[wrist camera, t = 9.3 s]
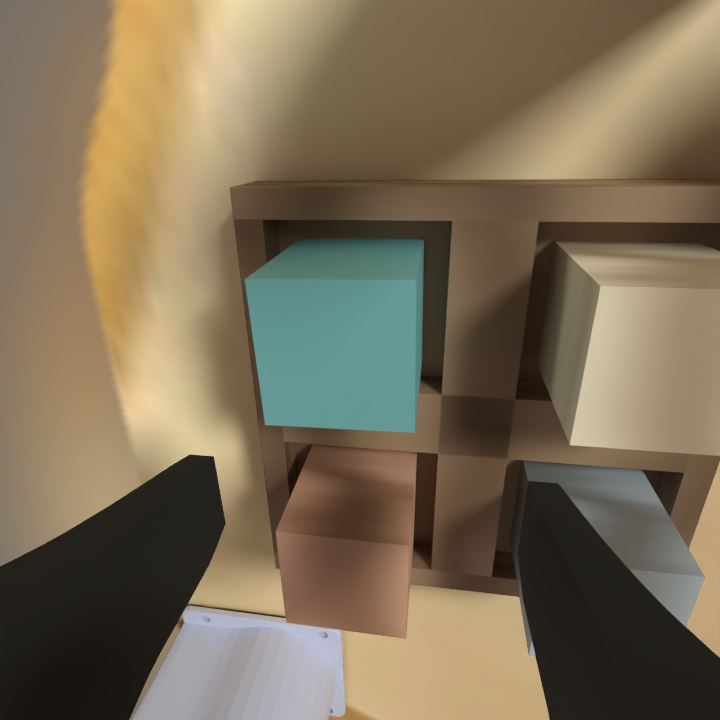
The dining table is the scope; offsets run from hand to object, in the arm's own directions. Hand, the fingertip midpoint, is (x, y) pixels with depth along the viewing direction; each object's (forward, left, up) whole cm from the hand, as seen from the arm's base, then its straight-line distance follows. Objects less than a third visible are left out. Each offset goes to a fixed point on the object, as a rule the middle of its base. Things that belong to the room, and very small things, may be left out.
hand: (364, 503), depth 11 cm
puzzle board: (+3, -2, -10) cm, 11 cm away
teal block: (-1, +2, -9) cm, 9 cm away
